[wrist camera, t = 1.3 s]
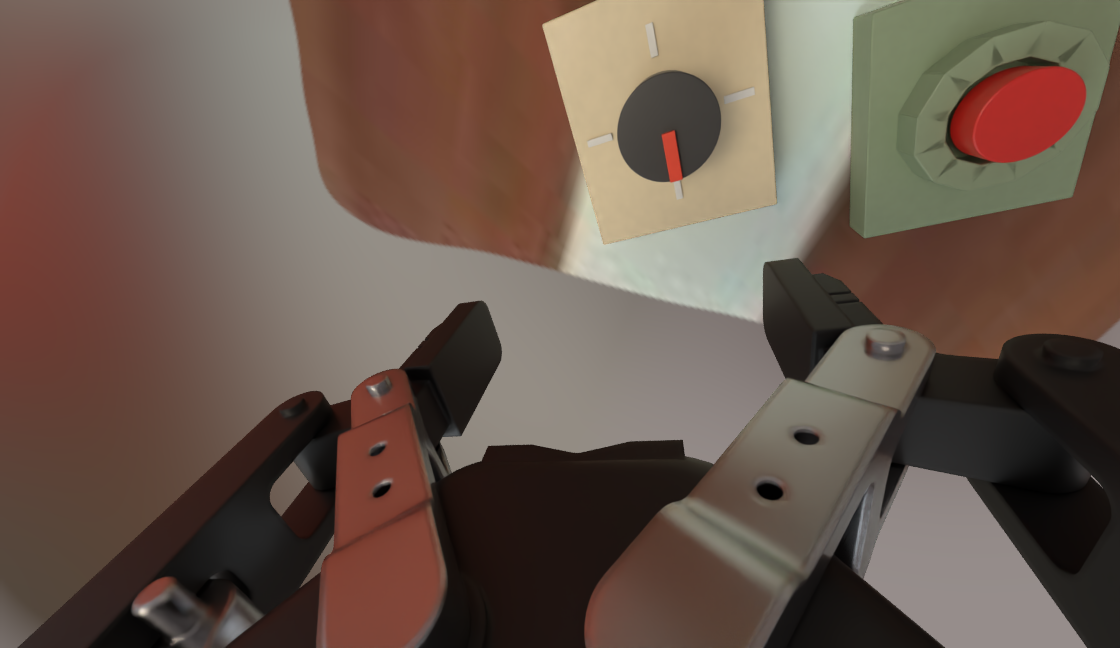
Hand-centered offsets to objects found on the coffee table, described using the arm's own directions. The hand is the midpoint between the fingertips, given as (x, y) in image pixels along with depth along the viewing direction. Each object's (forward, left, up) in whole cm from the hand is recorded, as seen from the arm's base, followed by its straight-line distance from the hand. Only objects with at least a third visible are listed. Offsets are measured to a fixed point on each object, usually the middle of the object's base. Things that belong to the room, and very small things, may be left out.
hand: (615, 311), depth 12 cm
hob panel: (-3, +2, -17) cm, 18 cm away
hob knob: (-3, +2, -14) cm, 15 cm away
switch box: (+1, +16, -17) cm, 24 cm away
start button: (+1, +16, -14) cm, 21 cm away
